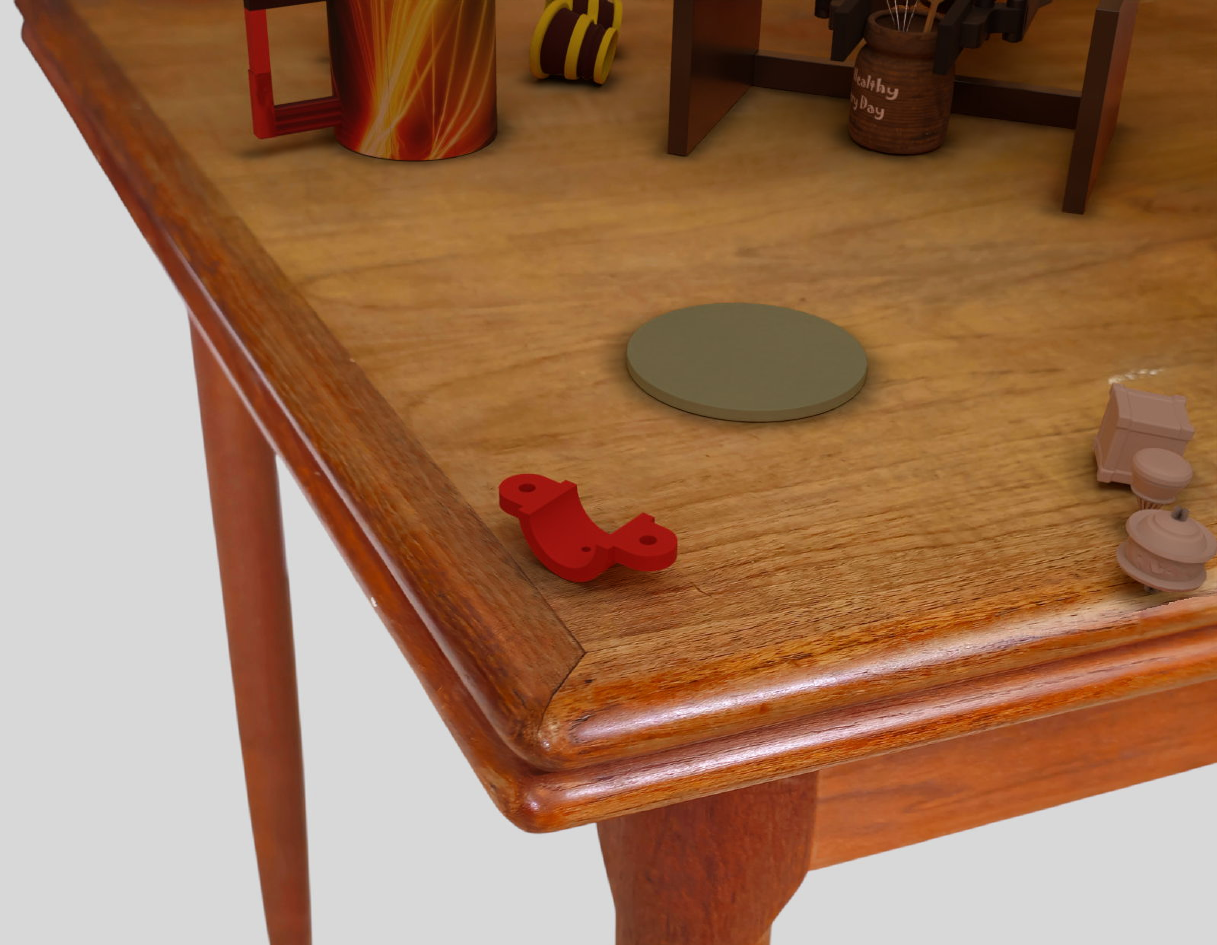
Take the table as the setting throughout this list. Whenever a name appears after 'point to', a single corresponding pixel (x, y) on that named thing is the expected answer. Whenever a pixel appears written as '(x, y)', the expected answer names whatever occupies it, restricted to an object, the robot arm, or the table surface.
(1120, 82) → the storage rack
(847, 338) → the rubber mat
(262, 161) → the table surface
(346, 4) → the mug
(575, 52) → the opera glasses
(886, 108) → the utensil holder
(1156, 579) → the toy set
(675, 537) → the pipe clamp
